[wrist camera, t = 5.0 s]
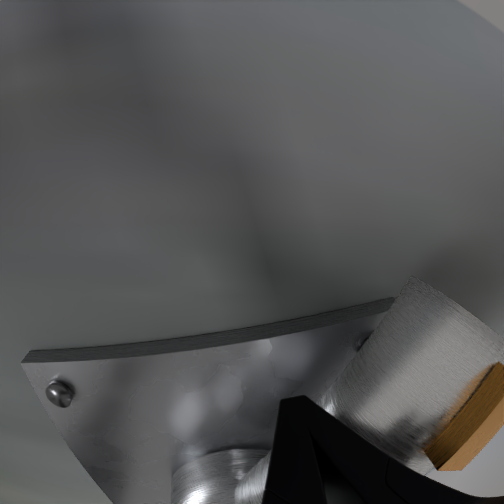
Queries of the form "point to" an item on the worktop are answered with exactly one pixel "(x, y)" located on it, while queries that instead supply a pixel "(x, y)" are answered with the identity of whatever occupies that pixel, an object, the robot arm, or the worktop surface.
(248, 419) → the flange
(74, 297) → the worktop surface
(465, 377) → the collar
